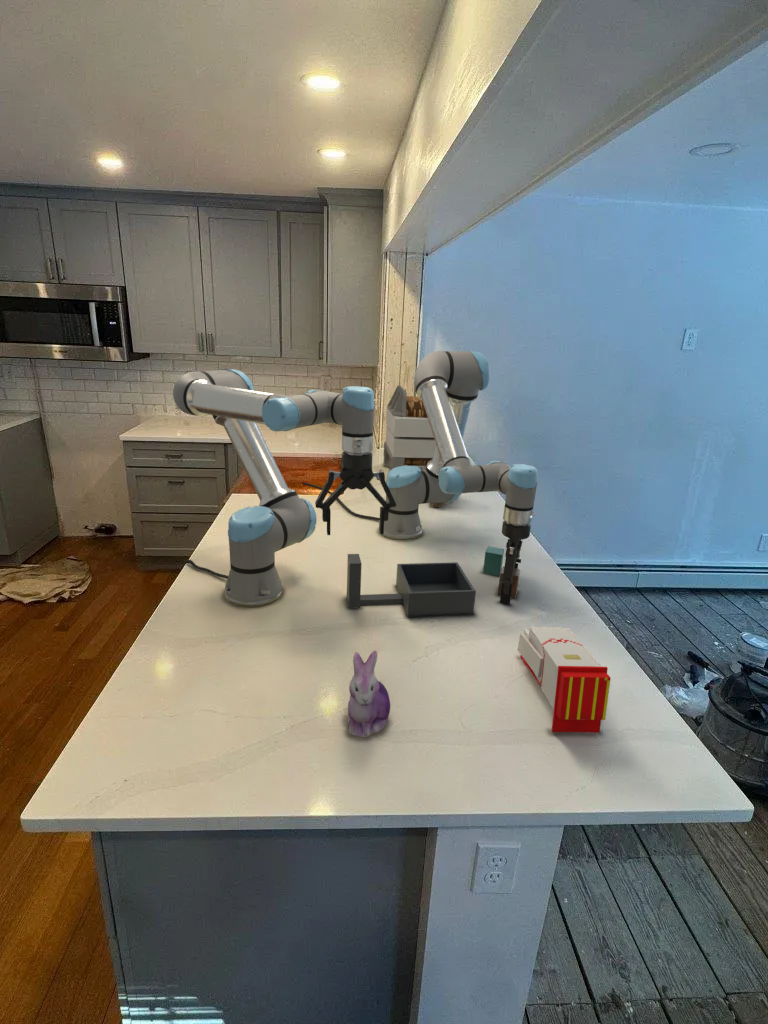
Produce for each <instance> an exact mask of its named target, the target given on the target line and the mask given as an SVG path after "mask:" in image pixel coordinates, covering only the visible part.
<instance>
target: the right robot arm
mask: <svg viewBox="0 0 768 1024" xmlns="http://www.w3.org/2000/svg"><path fill="white" fill-rule="evenodd" d="M490 376H491V370H490V366H489V361H488V359H487V357H486V356H485V355H484V354H483V353H481V352H479V351H471V350H467V351H466V350H464V351H463V350H462V351H461V350H447V351H446V350H436V351H432V352H430V353H428V354H427V355H425V356H424V357H423V358H422V359H421V360H420V361H419V363H418V365H417V366H416V369H415V373H414V378H413V386H414V391H415V394H416V397H418V398H419V399H420V400H422V402H423V405H424V408H425V411H426V414H427V417H428V421H429V424H430V427H431V430H432V433H433V436H434V439H435V442H436V444H435V449H434V454H433V459H432V460H430V461H429V462H428V463H427V466H425V469H424V470H422V469H421V467H420V466H407V465H404V466H400V467H396V468H393V469H392V470H390V469H389V470H388V472H387V475H386V480H385V482H386V484H387V486H388V488H389V490H390V492H391V494H392V496H393V498H394V501H395V503H396V507H391V508H390V509H389V515H388V521H384V534H380V535H381V536H382V537H385V538H387V539H389V540H395V541H410V540H415V539H418V538H420V537H421V536H422V535H423V525H422V524H421V518H420V515H419V507H420V506H419V505H423V504H429V503H437V502H442V503H446V502H447V503H449V502H454V501H457V499H458V498H460V496H461V495H462V494H471V493H489V492H500V493H501V494H503V495H505V503H504V507H503V508H504V509H503V517H502V519H503V521H502V524H501V525H502V526H501V534H502V535H503V536H504V537H505V538H507V541H506V544H505V548H506V550H505V553H504V556H505V560H504V565H503V566H504V572H503V578H502V579H500V578H499V580H500V582H502V588H501V596H499V603H501V604H505V605H511V600H512V598H511V592H512V584H513V581H512V579H513V574H514V568H516V569H519V564H521V563H522V559H521V558H520V556H521V550H522V546H523V540H527V539H528V538H530V536H531V530H532V529H531V528H532V524H531V523H532V519H533V517H534V516H536V512H533V511H534V506H535V501H536V493H537V487H538V476H539V475H538V474H539V472H538V469H537V467H535V466H534V465H530V464H525V463H514V464H512V465H509V464H507V463H506V462H503V461H499V460H491V461H489V462H486V464H475V465H473V464H472V463H471V460H470V457H469V454H468V452H467V449H466V446H465V442H464V440H463V439H464V437H465V436H464V435H465V431H466V427H467V423H468V419H469V418H468V417H469V414H470V410H471V405H472V403H473V402H475V401H476V400H477V399H478V397H479V392H480V391H484V390H485V389H486V388H487V387H488V386H489V383H490V378H491V377H490ZM301 483H302V485H304V486H308V487H311V488H315V489H318V490H320V491H321V490H322V488H323V486H318V485H315V484H312V483H308V482H304V481H302V482H301ZM332 493H333V492H331V491H330V490H329V491H328V493H327V494H329V496H330V495H331V494H332ZM335 501H337V502H338V503H339V505H340V506H341V507H343V508H344V509H345V511H347V512H348V513H349V514H351V515H352V516H355V517H358V518H360V519H362V518H363V519H367V520H374V521H379V522H380V517H378V516H377V517H376V516H371V515H364V514H360V513H356V512H355V511H352V510H351V509H350V508H349V507H348V506H347V505H345V503H343V502H342V501H341V499H340V498H339V497H338V498H337V499H336V500H335ZM385 501H386V502H389V499H388V497H387V495H386V494H385ZM447 503H446V504H447ZM378 533H380V531H379V530H378Z"/></svg>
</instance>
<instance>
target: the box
mask: <svg viewBox="0 0 768 1024" xmlns="http://www.w3.org/2000/svg"><path fill="white" fill-rule="evenodd" d="M346 569H347V570H346V601H347V607H348V609H361V606H372V605H373V606H375V605H376V606H377V605H400V604H401V605H402V606H403V608H404V611H405V614H406V617H407V618H426V617H427V618H428V617H430V618H431V617H452V616H473V615H474V613H475V611H474V610H475V602H476V594H477V592H476V589H475V587H474V586H473V584H472V583H471V581H470V580H469V578H468V576H467V575H466V573H465V572H464V570H463V569H462V566H461V565H460V564H459V563H458V562H456V561H455V562H454V561H453V562H452V561H451V562H421V563H419V562H418V563H397V564H396V580H395V587H396V589H397V591H398V593H376V594H374V593H373V594H361V590H362V560H361V556H360V554H359V553H347V567H346Z"/></svg>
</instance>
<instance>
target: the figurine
mask: <svg viewBox="0 0 768 1024" xmlns="http://www.w3.org/2000/svg"><path fill="white" fill-rule="evenodd" d="M377 660H378V651H377V650H373V651H372V652H371V653H369V656H368V657H367V660H366V661H365V662H364V660H363V658H362V657H361V655H360V653H359V652H357V651H355V652H354V654H353V659H352V663H353V675H352V677H351V680H350V682H349V686H348V687H349V688H348V690H349V694H350V696H349V700H348V703H347V717H346V721H347V725H348V732H349V734H351V735H352V736H357V737H359V738H360V737H361V738H367V737H369V736H371V735H372V734H377V733H380V732H381V731H382V730H383V728H384V727H385V726H386V725H387V723H388V721H389V716H390V712H391V700H390V695H389V691H388V689H387V688H386V687H385V685H384V684H383V682H381V681H379V680H378V678H377V676H376V674H375V669H376V665H377Z"/></svg>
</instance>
